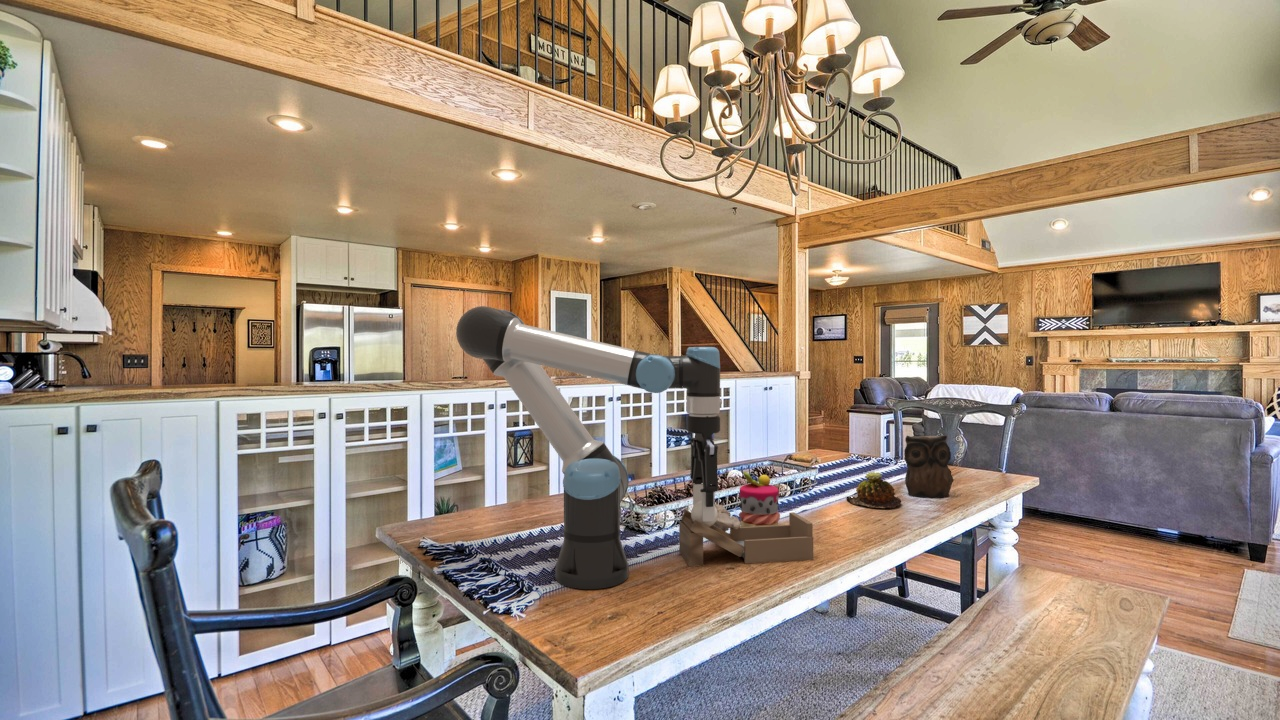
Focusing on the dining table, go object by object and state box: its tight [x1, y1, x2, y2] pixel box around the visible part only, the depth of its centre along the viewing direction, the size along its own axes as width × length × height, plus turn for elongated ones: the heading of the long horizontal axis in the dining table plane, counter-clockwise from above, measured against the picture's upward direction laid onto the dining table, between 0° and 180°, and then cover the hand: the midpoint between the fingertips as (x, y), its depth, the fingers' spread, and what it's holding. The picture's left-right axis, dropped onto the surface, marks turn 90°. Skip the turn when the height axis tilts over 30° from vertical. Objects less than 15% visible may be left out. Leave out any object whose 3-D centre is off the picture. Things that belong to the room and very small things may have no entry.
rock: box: [713, 503, 741, 532], centre depth 147 cm, size 6×14×7 cm, turn 4°
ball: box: [690, 501, 718, 527], centre depth 136 cm, size 6×6×6 cm
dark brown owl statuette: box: [903, 434, 954, 499], centre depth 198 cm, size 13×13×20 cm
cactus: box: [846, 471, 902, 510], centre depth 188 cm, size 17×16×10 cm
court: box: [729, 512, 814, 565], centre depth 138 cm, size 16×11×8 cm, turn 100°
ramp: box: [678, 509, 745, 567], centre depth 136 cm, size 13×10×10 cm
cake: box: [738, 471, 781, 527], centre depth 159 cm, size 10×11×15 cm
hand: (703, 516), depth 136 cm, fingers open, 7 cm apart
